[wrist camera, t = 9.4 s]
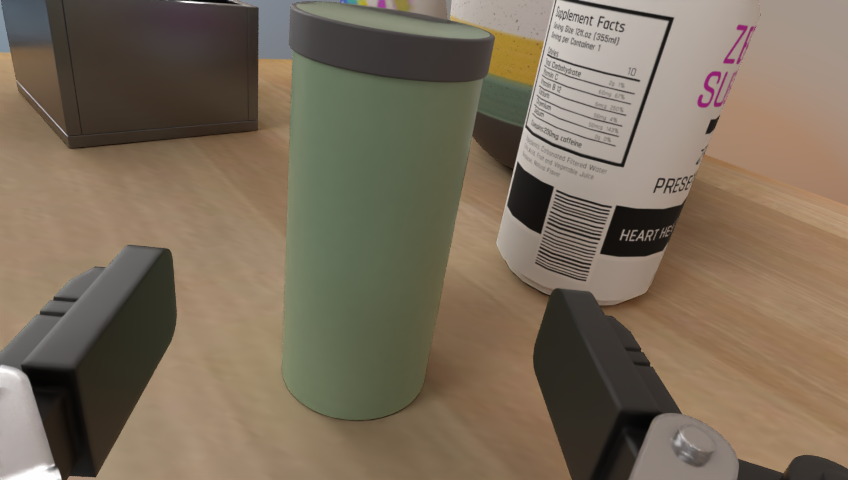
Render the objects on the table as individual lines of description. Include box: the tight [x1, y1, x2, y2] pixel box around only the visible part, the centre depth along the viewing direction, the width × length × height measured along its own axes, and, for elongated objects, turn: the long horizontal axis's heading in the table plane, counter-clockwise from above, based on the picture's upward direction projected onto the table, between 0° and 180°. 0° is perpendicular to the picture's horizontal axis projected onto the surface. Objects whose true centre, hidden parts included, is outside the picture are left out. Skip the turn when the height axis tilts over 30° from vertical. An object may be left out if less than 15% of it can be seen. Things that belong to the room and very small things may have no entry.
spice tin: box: [282, 1, 495, 420], centre depth 17 cm, size 5×5×12 cm
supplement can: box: [496, 0, 761, 306], centre depth 26 cm, size 8×8×15 cm
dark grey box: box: [1, 0, 258, 148], centre depth 39 cm, size 14×13×9 cm
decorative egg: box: [340, 0, 447, 19], centre depth 60 cm, size 12×12×15 cm
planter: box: [450, 0, 554, 169], centre depth 39 cm, size 20×20×21 cm
